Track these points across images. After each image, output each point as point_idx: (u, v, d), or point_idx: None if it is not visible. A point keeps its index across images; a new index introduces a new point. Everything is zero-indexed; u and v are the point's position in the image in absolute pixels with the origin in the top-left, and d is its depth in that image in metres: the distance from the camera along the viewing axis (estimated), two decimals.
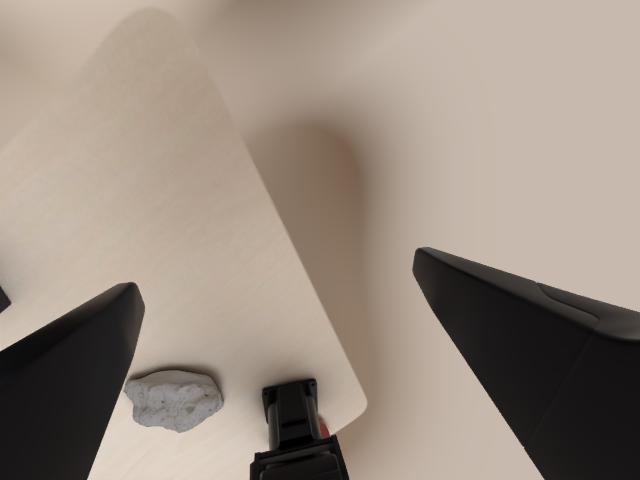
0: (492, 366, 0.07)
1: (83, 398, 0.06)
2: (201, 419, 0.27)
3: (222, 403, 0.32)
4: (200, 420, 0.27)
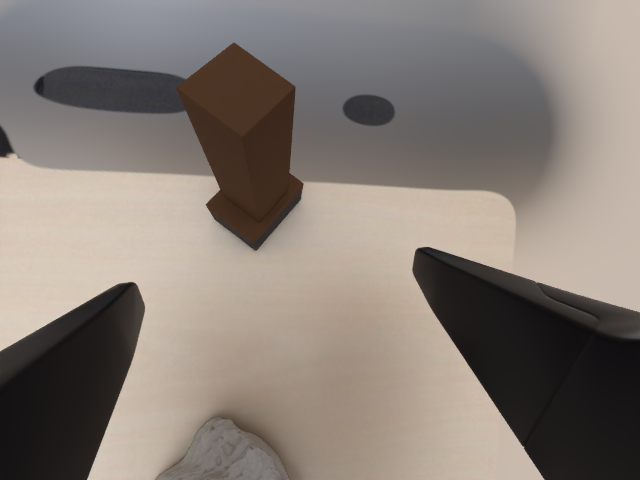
0: (492, 366, 0.07)
1: (83, 398, 0.06)
2: None
3: None
4: None
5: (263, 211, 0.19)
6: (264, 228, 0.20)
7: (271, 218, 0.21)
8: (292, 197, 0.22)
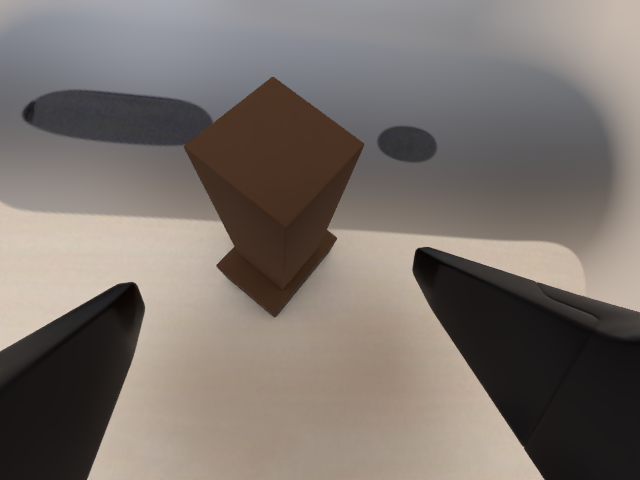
0: (492, 366, 0.07)
1: (83, 398, 0.06)
2: None
3: None
4: None
5: (289, 279, 0.15)
6: (289, 297, 0.16)
7: (297, 284, 0.16)
8: (323, 255, 0.17)
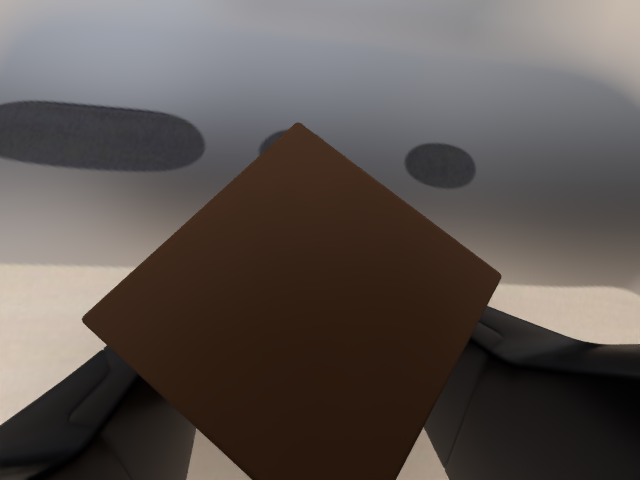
0: None
1: None
2: None
3: None
4: None
5: None
6: None
7: None
8: None
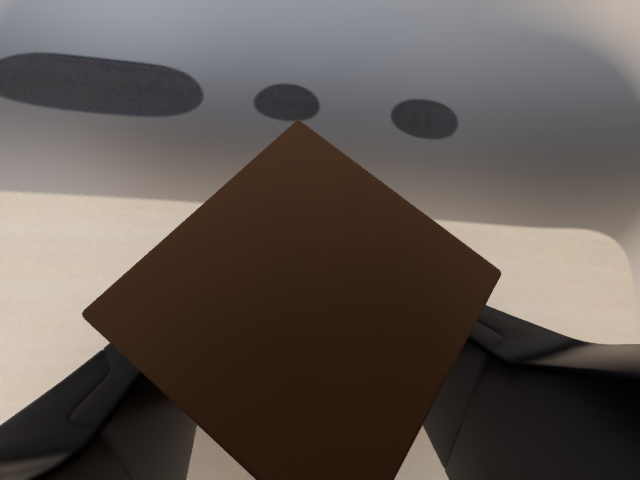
0: None
1: None
2: None
3: None
4: None
5: None
6: None
7: None
8: None
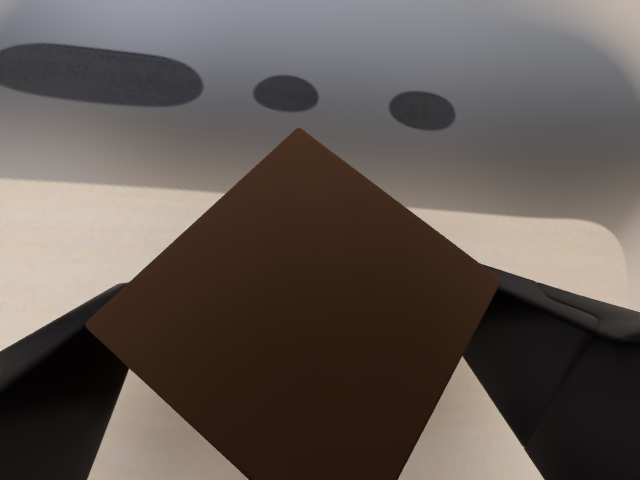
0: (492, 366, 0.07)
1: (83, 398, 0.06)
2: None
3: None
4: None
5: None
6: None
7: None
8: None
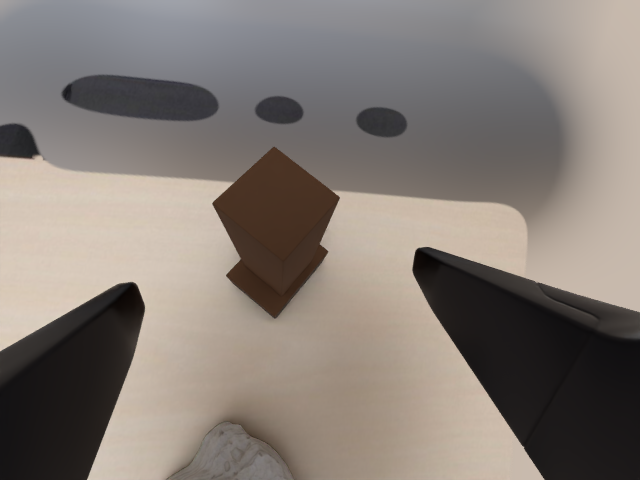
0: (492, 366, 0.07)
1: (83, 398, 0.06)
2: None
3: None
4: None
5: (287, 287, 0.18)
6: (286, 301, 0.19)
7: (294, 290, 0.19)
8: (316, 266, 0.20)
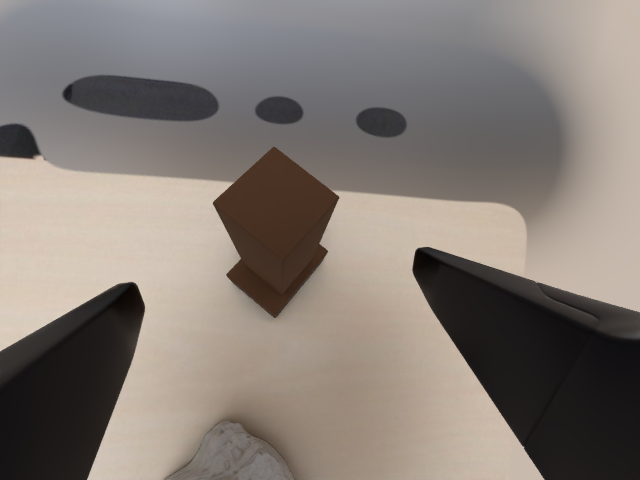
0: (492, 366, 0.07)
1: (83, 398, 0.06)
2: None
3: None
4: None
5: (287, 287, 0.18)
6: (286, 301, 0.19)
7: (294, 290, 0.19)
8: (316, 265, 0.21)
